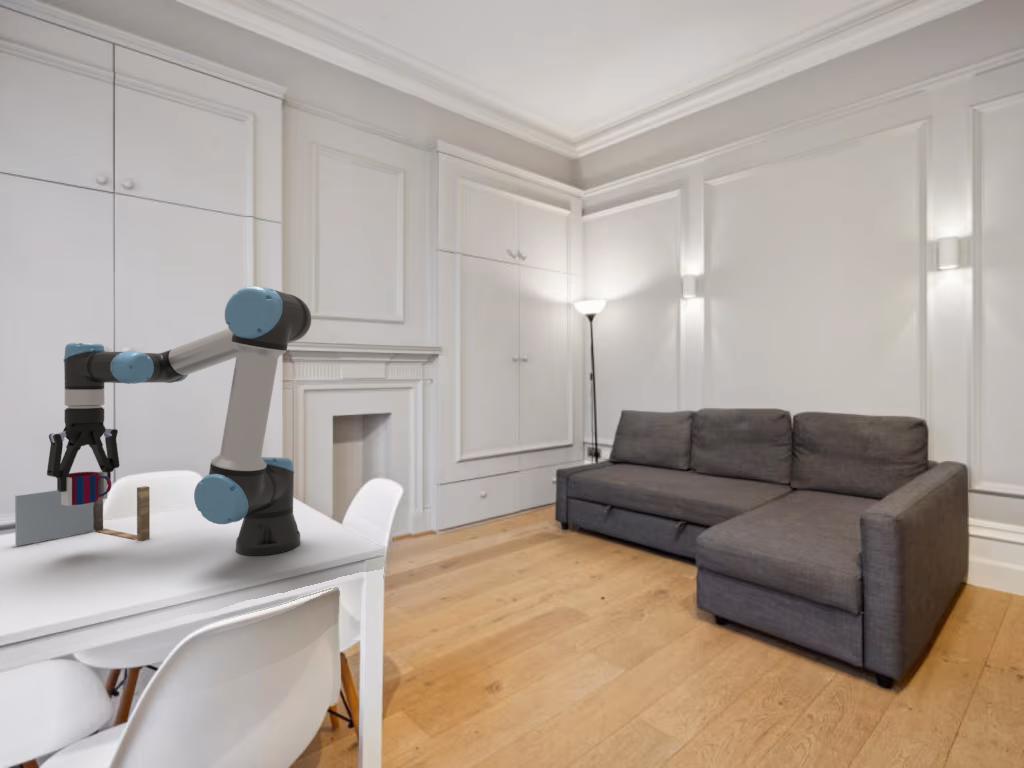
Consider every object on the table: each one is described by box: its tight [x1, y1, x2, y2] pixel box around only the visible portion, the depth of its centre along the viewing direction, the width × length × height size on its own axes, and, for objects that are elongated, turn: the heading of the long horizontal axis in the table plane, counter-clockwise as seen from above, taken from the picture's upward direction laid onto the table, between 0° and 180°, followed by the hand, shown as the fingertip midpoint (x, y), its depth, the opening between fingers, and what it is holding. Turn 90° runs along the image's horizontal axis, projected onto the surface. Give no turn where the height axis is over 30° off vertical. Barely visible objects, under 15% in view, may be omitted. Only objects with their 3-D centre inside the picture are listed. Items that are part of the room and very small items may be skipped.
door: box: [14, 489, 94, 547], centre depth 142 cm, size 16×3×13 cm, turn 146°
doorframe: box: [93, 485, 151, 542], centre depth 147 cm, size 26×2×15 cm, turn 66°
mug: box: [68, 471, 112, 505], centre depth 129 cm, size 7×10×7 cm
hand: (84, 501), depth 129 cm, fingers closed on mug, 7 cm apart
